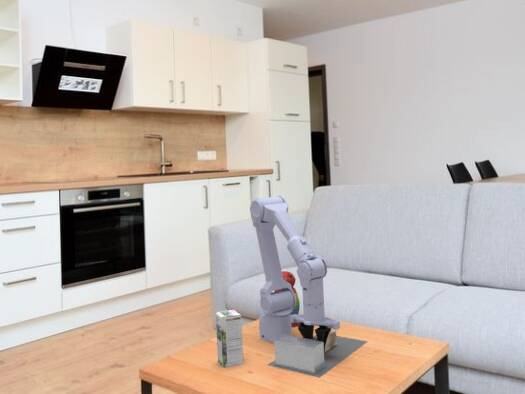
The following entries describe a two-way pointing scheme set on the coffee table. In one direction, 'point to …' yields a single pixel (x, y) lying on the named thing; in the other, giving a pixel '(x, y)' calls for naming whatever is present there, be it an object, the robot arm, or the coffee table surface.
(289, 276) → the stacking bear
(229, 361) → the syrup box
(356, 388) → the coffee table surface
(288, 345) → the grey rectangular block
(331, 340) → the slat
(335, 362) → the board
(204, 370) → the coffee table surface
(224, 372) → the coffee table surface
